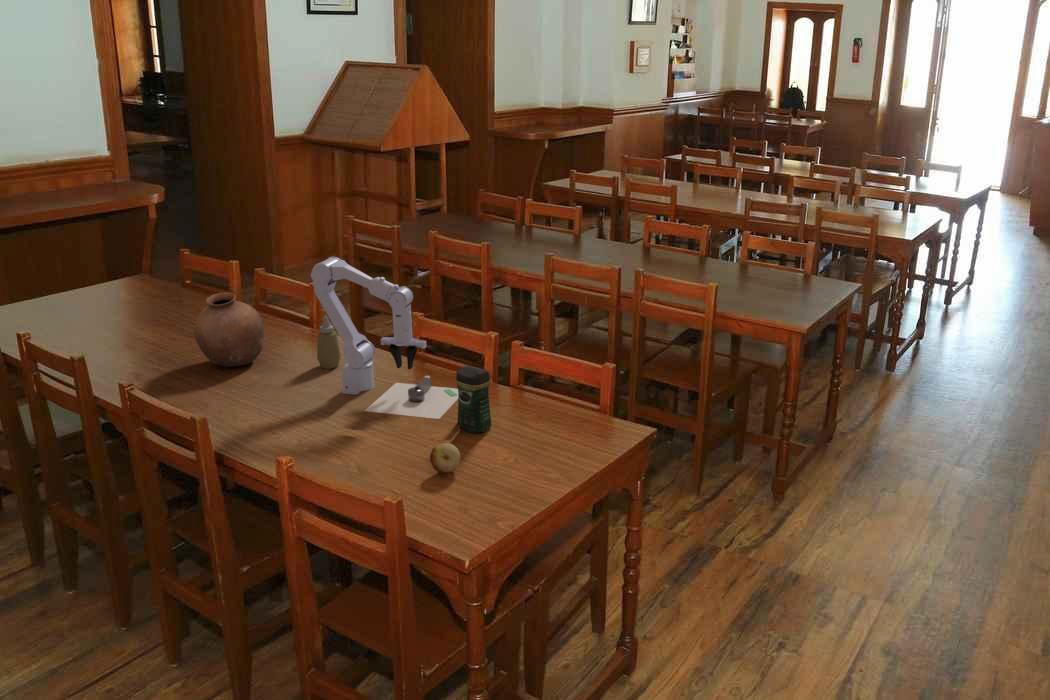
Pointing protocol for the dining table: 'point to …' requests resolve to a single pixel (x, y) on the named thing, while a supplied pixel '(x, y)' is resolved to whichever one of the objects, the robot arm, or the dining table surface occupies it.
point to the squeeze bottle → (328, 346)
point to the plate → (430, 407)
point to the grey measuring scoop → (419, 390)
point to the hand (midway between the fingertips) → (404, 367)
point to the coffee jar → (473, 399)
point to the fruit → (445, 458)
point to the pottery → (229, 331)
